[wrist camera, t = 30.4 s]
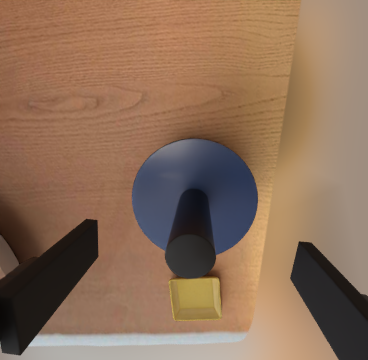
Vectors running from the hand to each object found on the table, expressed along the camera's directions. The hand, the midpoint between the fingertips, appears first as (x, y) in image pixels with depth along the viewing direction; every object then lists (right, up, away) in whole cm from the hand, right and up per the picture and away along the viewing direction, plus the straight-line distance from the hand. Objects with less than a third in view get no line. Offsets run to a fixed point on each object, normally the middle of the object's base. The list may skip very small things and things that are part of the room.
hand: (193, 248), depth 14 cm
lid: (0, +2, +10) cm, 10 cm away
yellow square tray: (+1, -16, +25) cm, 30 cm away
